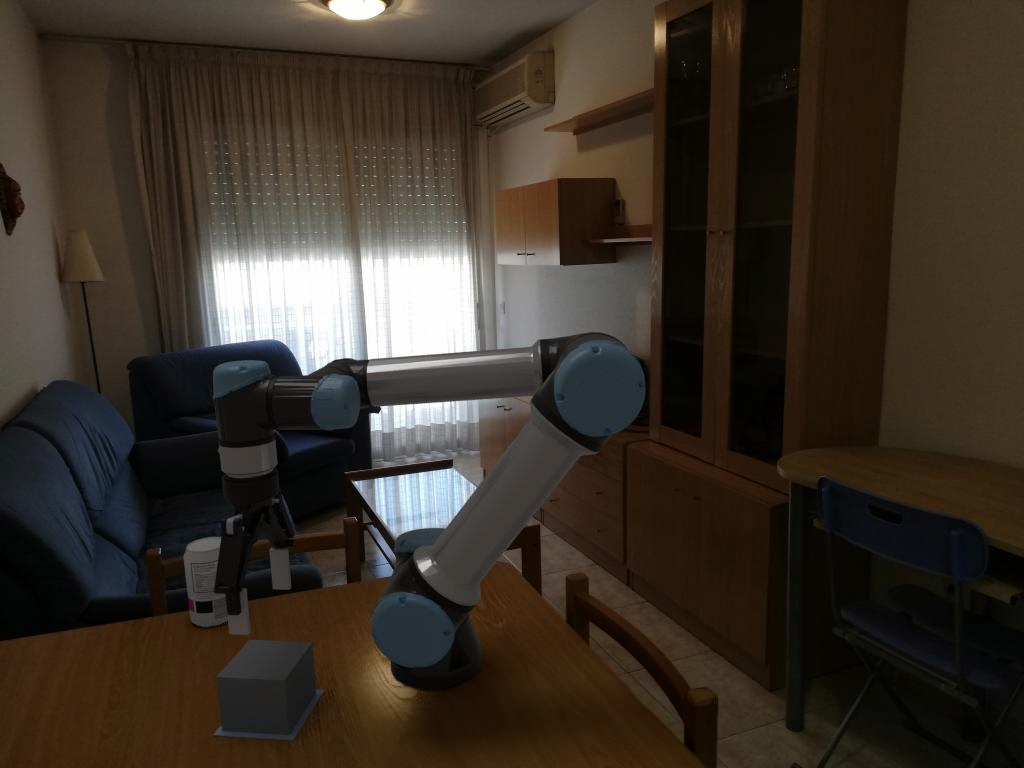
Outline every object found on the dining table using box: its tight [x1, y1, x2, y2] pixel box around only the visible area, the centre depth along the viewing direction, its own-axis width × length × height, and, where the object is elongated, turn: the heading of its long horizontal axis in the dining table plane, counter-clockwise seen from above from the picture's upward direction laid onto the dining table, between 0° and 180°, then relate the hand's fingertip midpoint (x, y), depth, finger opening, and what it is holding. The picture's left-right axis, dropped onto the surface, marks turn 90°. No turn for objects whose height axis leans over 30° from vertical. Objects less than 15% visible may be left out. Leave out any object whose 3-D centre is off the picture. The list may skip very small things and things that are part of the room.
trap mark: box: [213, 688, 326, 742], centre depth 110 cm, size 12×12×1 cm
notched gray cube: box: [215, 639, 317, 735], centre depth 110 cm, size 10×10×9 cm
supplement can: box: [183, 536, 228, 628], centre depth 138 cm, size 8×8×15 cm
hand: (262, 609), depth 108 cm, fingers open, 13 cm apart
